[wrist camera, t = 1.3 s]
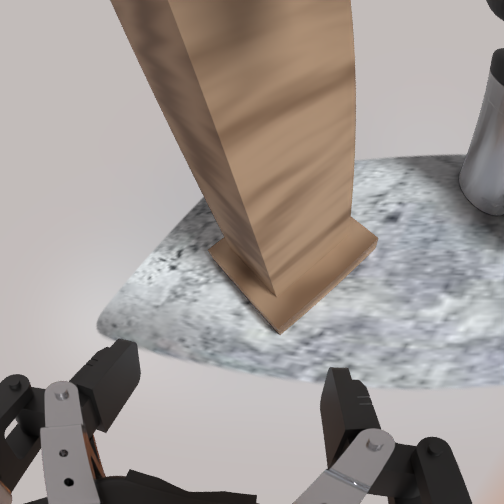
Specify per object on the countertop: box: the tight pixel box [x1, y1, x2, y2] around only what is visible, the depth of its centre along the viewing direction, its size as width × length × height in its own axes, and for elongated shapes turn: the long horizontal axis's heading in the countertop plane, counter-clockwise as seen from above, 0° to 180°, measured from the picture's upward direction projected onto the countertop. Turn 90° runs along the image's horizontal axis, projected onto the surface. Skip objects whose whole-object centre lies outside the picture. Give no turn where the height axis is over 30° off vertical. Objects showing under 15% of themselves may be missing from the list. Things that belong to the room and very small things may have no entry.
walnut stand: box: [110, 0, 378, 335], centre depth 19 cm, size 12×14×33 cm
